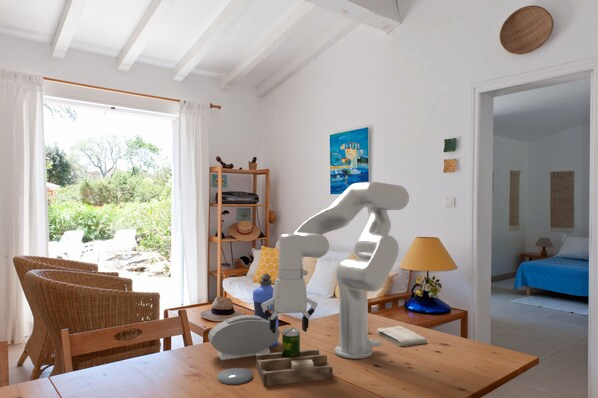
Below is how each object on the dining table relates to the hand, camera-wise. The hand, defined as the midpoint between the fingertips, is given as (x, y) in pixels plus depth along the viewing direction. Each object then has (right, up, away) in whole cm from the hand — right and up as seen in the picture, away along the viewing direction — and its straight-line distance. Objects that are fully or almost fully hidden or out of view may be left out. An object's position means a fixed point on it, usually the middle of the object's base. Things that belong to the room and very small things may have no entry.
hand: (288, 331), depth 131 cm
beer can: (+1, -12, 0) cm, 12 cm away
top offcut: (+4, -10, -5) cm, 12 cm away
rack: (+1, -12, -3) cm, 12 cm away
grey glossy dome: (-15, -12, -5) cm, 20 cm away
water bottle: (-9, -12, +25) cm, 29 cm away
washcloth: (+41, -13, +32) cm, 54 cm away
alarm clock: (-15, -12, +14) cm, 24 cm away
